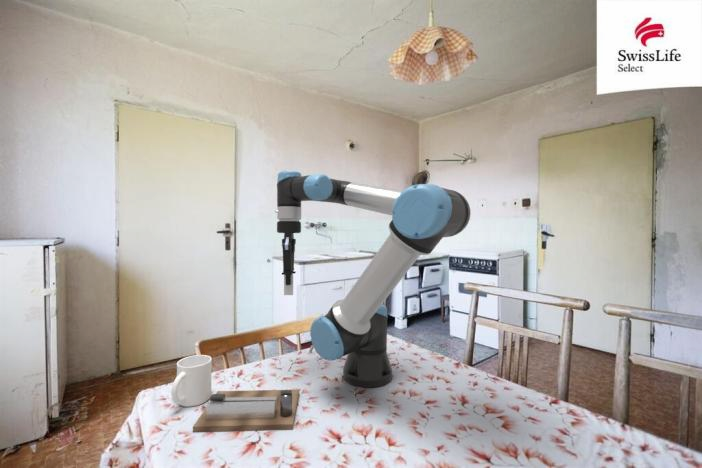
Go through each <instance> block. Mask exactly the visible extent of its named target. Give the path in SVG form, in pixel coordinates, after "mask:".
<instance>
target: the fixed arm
mask: <svg viewBox="0 0 702 468" xmlns="http://www.w3.org/2000/svg"><path fill="white" fill-rule="evenodd" d="M275 406H276V401H251V402H210V401H209V402H208V403H207V404H206V407H205V409H206V420H230V419H270V418H275ZM291 415H292V391H281V394H280V416H281V417H290V416H291Z"/></svg>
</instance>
